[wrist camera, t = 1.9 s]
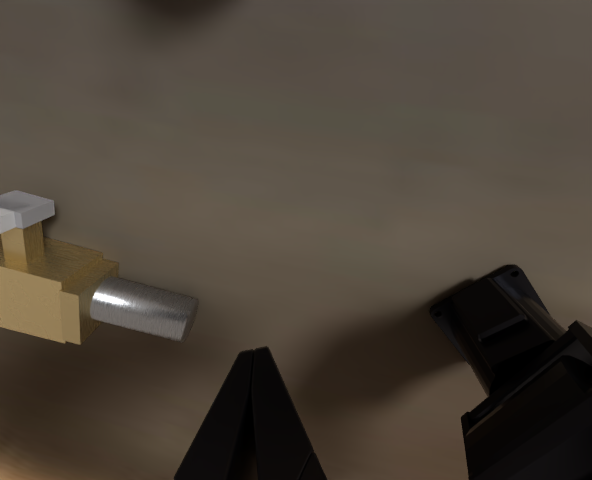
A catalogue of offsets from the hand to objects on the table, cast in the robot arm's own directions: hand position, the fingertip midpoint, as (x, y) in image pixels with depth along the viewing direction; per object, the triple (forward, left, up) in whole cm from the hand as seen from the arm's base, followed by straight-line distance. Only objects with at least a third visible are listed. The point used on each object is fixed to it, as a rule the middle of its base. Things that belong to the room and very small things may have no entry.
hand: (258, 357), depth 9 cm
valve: (+8, +16, -12) cm, 22 cm away
